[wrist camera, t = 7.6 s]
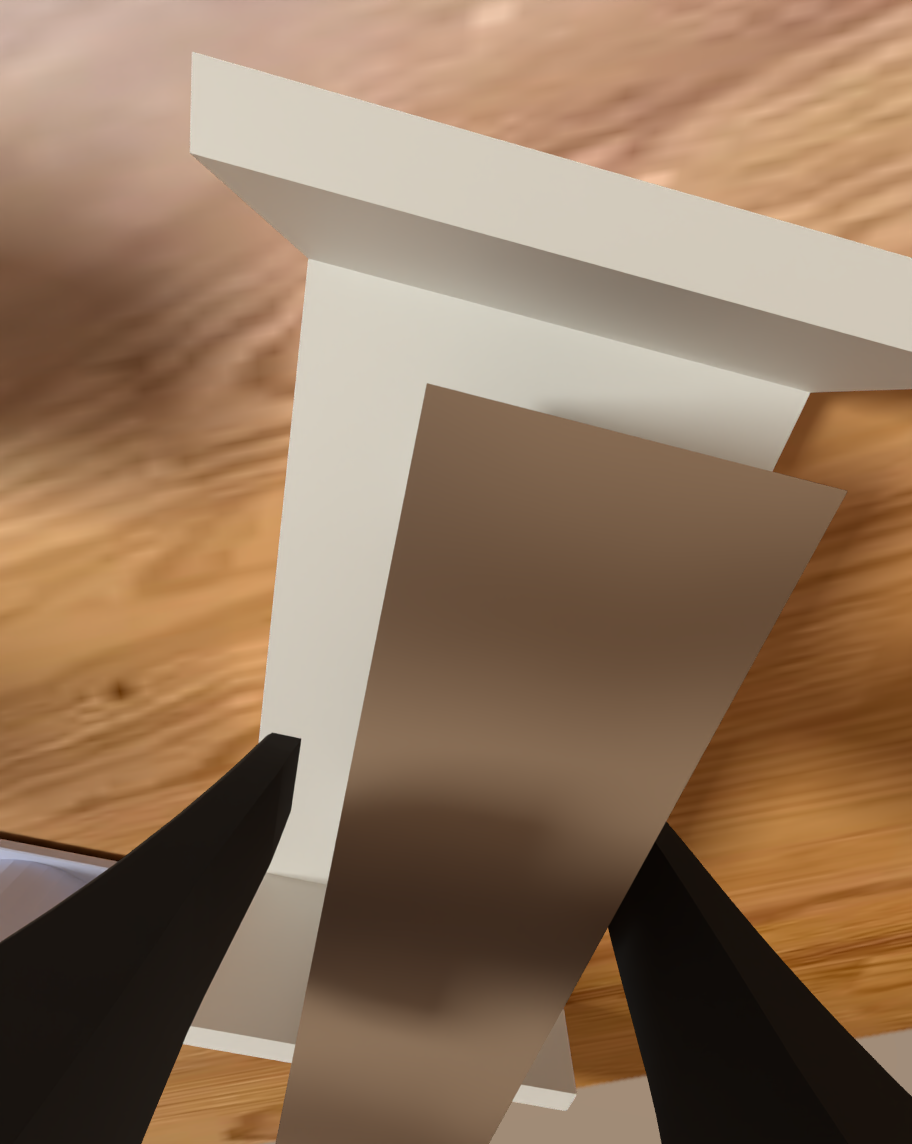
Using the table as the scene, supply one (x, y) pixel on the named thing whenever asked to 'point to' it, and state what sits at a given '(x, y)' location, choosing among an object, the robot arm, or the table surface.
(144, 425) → the table surface
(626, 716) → the brown wooden bar
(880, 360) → the shelf stand
